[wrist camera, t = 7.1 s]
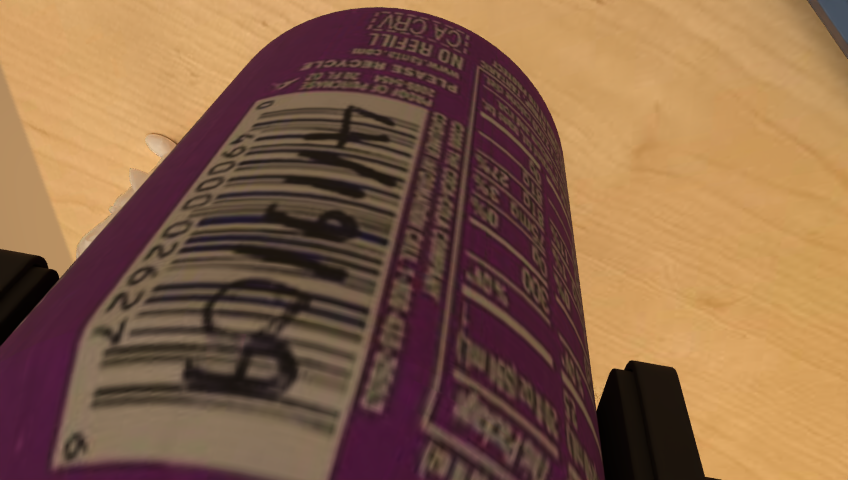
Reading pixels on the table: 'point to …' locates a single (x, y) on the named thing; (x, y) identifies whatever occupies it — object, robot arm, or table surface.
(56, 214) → the table surface
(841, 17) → the can tray
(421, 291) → the beverage can
